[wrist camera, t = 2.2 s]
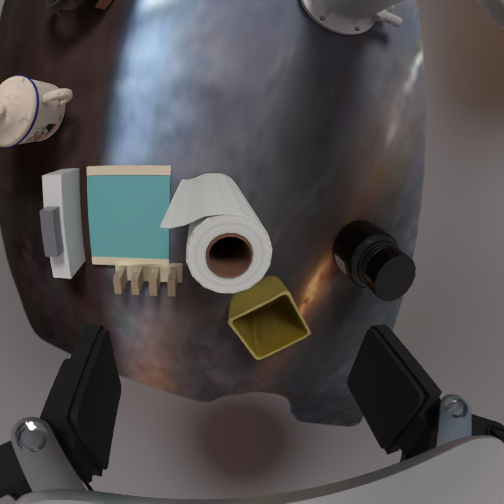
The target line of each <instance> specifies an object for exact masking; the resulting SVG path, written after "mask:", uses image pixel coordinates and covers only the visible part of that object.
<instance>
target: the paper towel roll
mask: <svg viewBox="0 0 504 504" xmlns="http://www.w3.org/2000/svg"><path fill="white" fill-rule="evenodd" d="M189 223H190V224H189ZM186 224H189V231H188V238H187V247H186V262H187V265H188V267H189V270H190V272H191V274H192V276H193V277H194V278H195V279H196V280H197V281H198V282H199V283H200V284H201V285H202V286H203V287H205V288H208V289H210V290H213V291H215V292H217V293H236V292H240V291H243V290H246V289H249V288H250V287H252V286H253V285H254V284H256V283H257V282H258V281H260V280H261V279H262V278H263V276H264V274H265V273H266V271H267V270H268V268H269V266H270V262H271V256H272V246H271V242H270V239H269V235H268V233H267V231H266V230H265V228H264V227H263V225H262V224H261V222H260V220H259V219H258V217H257V216H256V214H255V212H254V211H253V209H252V208H251V206H250V205H249V203H248V202H247V200H246V198H245V197H244V195H243V194H242V192H241V191H240V189H239V188H238V186H237V184H236V183H235V182H234V181H233V180H232V178H230V177H228V176H227V175H225V174H217V173H212V174H203V175H200V176H198V177H196V178H193V179H188V180H184V179H182V180H181V182H180V184H179V187H178V189H177V191H176V193H175V195H174V197H173V199H172V201H171V203H170V205H169V208H168V210H167V212H166V214H165V216H164V219H163V221H162V223H161V225H160V228H174V227H179V226H184V225H186Z"/></svg>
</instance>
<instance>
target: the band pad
mask: <svg viewBox="0 0 504 504" xmlns="http://www.w3.org/2000/svg"><path fill="white" fill-rule="evenodd" d="M170 184H171V166H152V165H124V166H88V167H87V195H88V216H89V231H90V242H91V252H92V263H93V264H100V265H116V263H135V264H162V265H169V263H170V261H169V228H160V225H161V223H162V221H163V219H164V216H165V214H166V212H167V210H168V208H169V205H170Z"/></svg>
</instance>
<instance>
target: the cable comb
mask: <svg viewBox="0 0 504 504" xmlns="http://www.w3.org/2000/svg"><path fill="white" fill-rule="evenodd" d="M115 268H116V273H115V275H114V277H113V282H114V290H115V294H122V292H123V290H124V288H125V285H126V283H127V281H128V280H130V281H131V289H132V295H139V294H140V291H141V288H142V285H143V282H144V281H149V291H150V296H157V294H158V290H159V286H160V282H168V296H176V288H177V282H181V283H182V282H183V263H169V265H162V264H135V263H116V265H115Z"/></svg>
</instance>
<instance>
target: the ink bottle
mask: <svg viewBox="0 0 504 504" xmlns="http://www.w3.org/2000/svg"><path fill="white" fill-rule="evenodd" d="M333 257H334V260H335V262H336V264H337V265H338V266H339V268H340V269H341V270H342V271H343V272H344V273H345V274H346V275H347V276H348V277H349V278H350V279H351V280H352V281H353V282H354V283H355V284H356V285H358V286H360V287H363V288H369V289H370V290H371V291H372V292H373V293H374V294H375V295H376V296H377V297H378V298H380V299H382V300H383V301H393V300H395V299H398V298H400V297H401V296H402V295H403V294H405V293H406V292H407V290H408V289H409V288H410V286H411V285H412V282H413V280H414V277H415V268H416V267H415V265H414V262H413V260H412V259H411V258H410V257H409V256H407V255H406V254H405V253H403V252H402V251H400V250H399V246H398V244H397V242H396V240H395V239H394V238H393V237H392V236H391V235H389V234H388V233H386V232H385V231H383V230H381V229H380V228H378V227H377V226H375V225H373V224H372V223H370V222H367V221H354V222H351V223H349V224H347V225H346V226H345V227H344V228H343V229H342V230H341V231H340V232H339V234H338V235H337V237H336V240H335V242H334V246H333Z"/></svg>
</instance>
